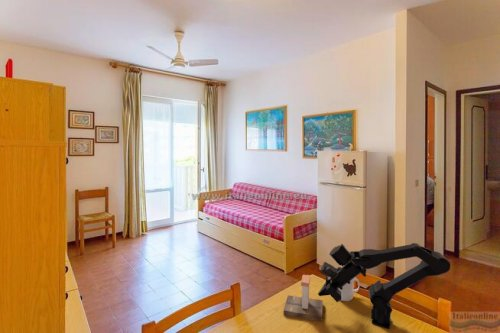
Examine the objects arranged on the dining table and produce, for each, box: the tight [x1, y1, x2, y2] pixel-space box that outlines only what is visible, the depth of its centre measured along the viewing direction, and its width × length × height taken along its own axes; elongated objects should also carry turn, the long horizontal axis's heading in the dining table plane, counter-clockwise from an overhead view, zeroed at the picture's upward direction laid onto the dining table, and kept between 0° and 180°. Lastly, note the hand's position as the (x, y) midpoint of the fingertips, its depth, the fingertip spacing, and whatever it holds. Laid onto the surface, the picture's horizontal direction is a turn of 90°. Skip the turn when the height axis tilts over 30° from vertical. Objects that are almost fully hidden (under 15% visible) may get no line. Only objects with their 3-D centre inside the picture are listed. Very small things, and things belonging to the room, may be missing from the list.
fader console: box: [283, 295, 324, 322], centre depth 121 cm, size 16×12×2 cm
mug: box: [338, 277, 361, 302], centre depth 131 cm, size 9×12×11 cm
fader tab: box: [300, 274, 311, 309], centre depth 120 cm, size 3×7×12 cm, turn 164°
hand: (318, 294), depth 119 cm, fingers closed
